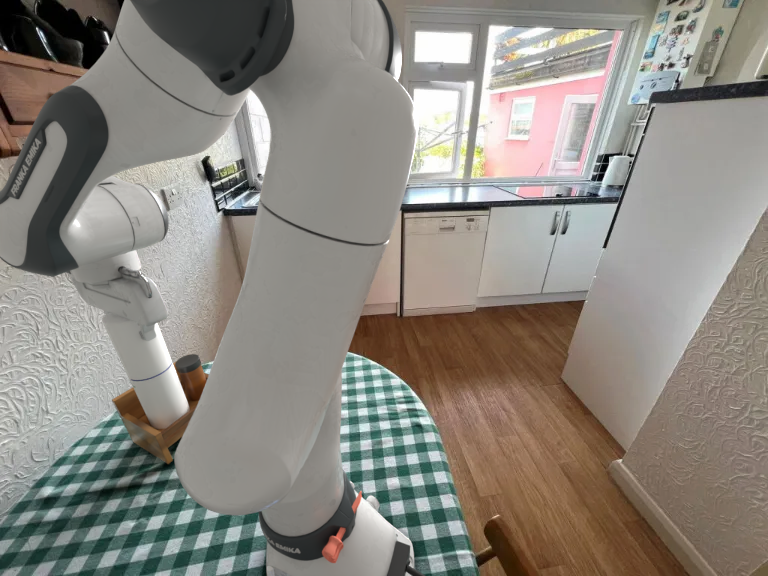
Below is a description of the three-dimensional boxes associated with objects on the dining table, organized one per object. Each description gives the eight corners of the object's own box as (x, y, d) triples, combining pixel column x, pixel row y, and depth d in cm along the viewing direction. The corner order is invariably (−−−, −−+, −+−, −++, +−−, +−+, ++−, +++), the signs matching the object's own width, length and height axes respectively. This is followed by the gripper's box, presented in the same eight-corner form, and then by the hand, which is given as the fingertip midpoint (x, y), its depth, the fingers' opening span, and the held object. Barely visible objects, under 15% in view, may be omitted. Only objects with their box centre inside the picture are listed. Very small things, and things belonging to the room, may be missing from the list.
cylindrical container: (171, 431, 63) (125, 325, 52) (141, 426, 64) (91, 321, 53) (197, 404, 69) (160, 305, 58) (169, 400, 70) (129, 302, 60)
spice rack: (234, 407, 75) (220, 358, 68) (168, 464, 62) (142, 409, 55) (201, 392, 79) (184, 345, 73) (133, 442, 66) (106, 389, 60)
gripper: (164, 265, 50) (188, 337, 56) (96, 250, 58) (124, 314, 64) (120, 280, 45) (152, 357, 51) (53, 261, 53) (87, 329, 59)
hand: (135, 333), depth 58 cm, fingers closed on cylindrical container, 7 cm apart
